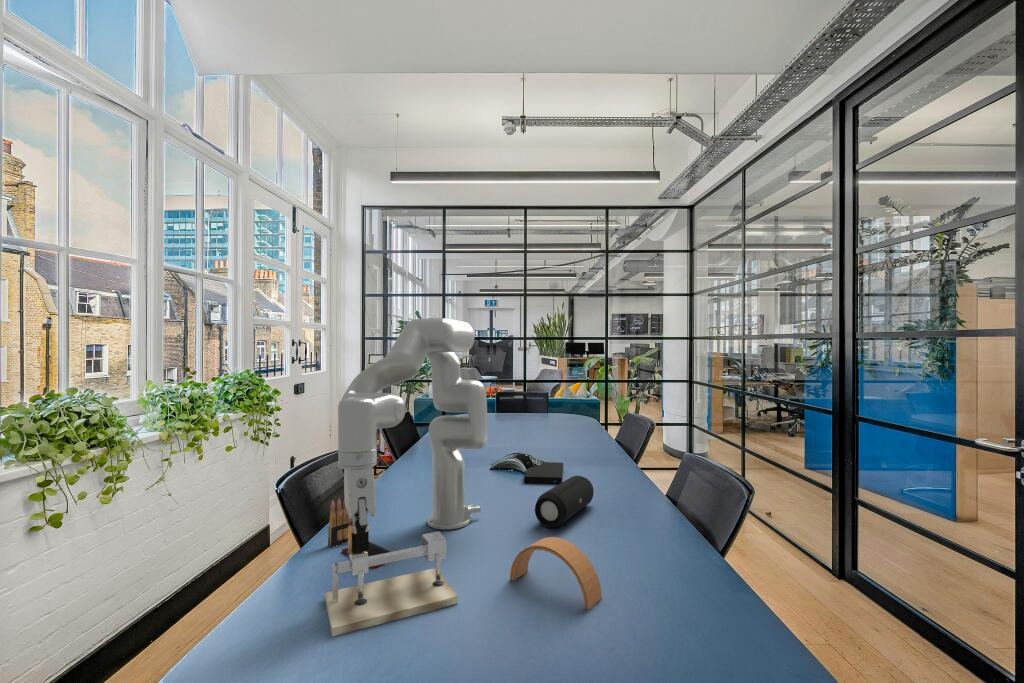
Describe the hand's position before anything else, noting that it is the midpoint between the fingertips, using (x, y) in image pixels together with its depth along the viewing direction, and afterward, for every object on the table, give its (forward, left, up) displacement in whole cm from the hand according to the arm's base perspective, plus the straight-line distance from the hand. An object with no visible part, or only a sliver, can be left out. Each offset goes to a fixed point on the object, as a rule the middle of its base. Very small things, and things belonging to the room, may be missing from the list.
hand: (358, 546), depth 97 cm
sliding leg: (0, +1, -9) cm, 10 cm away
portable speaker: (-65, -22, -12) cm, 70 cm away
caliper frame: (-7, 0, -10) cm, 12 cm away
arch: (-38, +13, -12) cm, 42 cm away
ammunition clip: (-2, -34, -12) cm, 36 cm away
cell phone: (-6, -22, -12) cm, 26 cm away
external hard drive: (-82, -64, -12) cm, 105 cm away
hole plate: (-6, +3, -11) cm, 13 cm away
